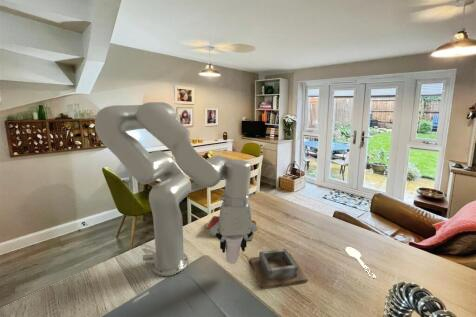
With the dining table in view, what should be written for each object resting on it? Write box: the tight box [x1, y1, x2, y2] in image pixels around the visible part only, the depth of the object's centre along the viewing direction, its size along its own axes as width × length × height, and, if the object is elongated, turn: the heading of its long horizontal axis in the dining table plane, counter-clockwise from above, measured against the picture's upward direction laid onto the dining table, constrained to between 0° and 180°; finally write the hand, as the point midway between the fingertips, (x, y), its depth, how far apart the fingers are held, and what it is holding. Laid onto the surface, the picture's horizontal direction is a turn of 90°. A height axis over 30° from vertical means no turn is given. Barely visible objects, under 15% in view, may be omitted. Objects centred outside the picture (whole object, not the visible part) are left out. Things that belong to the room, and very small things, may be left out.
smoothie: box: [225, 235, 243, 265], centre depth 77 cm, size 6×6×14 cm
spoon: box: [344, 246, 377, 279], centre depth 89 cm, size 5×18×1 cm, turn 2°
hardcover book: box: [205, 215, 257, 241], centre depth 107 cm, size 12×21×4 cm, turn 79°
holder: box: [249, 248, 309, 289], centre depth 82 cm, size 16×14×4 cm
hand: (232, 249), depth 78 cm, fingers closed on smoothie, 5 cm apart
